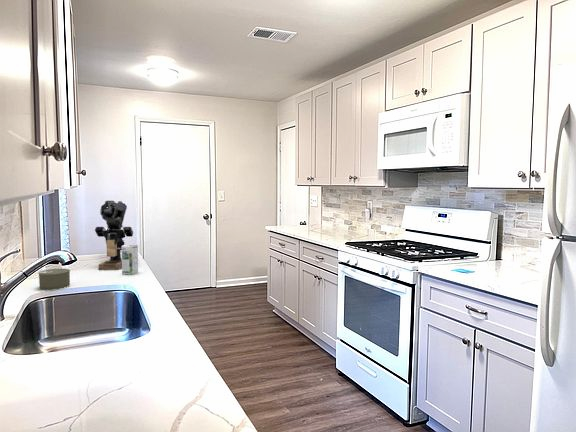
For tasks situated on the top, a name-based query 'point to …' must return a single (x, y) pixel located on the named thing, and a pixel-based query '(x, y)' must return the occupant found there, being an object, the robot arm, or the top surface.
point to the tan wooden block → (111, 248)
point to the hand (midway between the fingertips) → (110, 244)
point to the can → (54, 279)
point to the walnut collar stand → (110, 265)
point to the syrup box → (129, 259)
